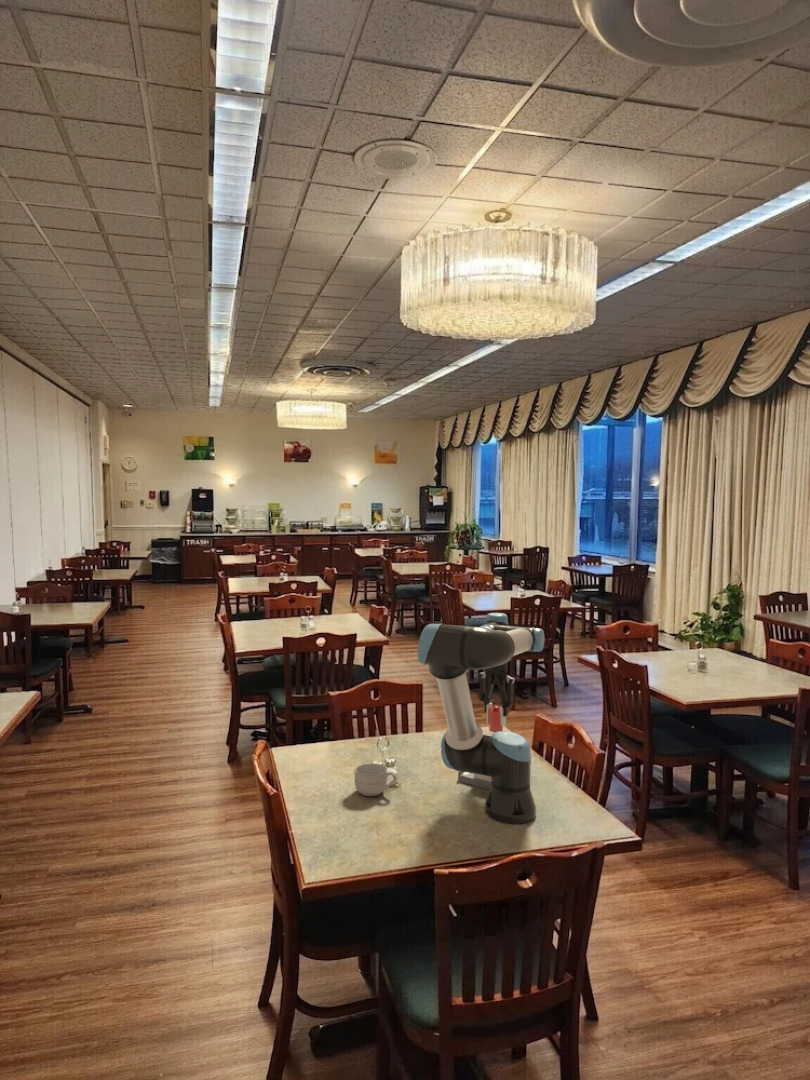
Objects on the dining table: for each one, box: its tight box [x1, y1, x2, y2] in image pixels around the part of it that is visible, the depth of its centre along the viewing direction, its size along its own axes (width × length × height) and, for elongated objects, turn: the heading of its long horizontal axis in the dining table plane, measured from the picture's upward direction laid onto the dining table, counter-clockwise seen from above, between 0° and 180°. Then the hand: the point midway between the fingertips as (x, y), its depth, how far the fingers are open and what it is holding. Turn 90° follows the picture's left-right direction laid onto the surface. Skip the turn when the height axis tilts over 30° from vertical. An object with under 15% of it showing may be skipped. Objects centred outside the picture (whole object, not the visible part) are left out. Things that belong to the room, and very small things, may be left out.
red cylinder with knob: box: [488, 705, 504, 733], centre depth 229 cm, size 5×5×8 cm
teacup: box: [353, 762, 398, 797], centre depth 211 cm, size 14×11×8 cm
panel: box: [457, 771, 491, 790], centre depth 227 cm, size 15×26×3 cm, turn 145°
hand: (496, 723), depth 229 cm, fingers closed on red cylinder with knob, 5 cm apart
